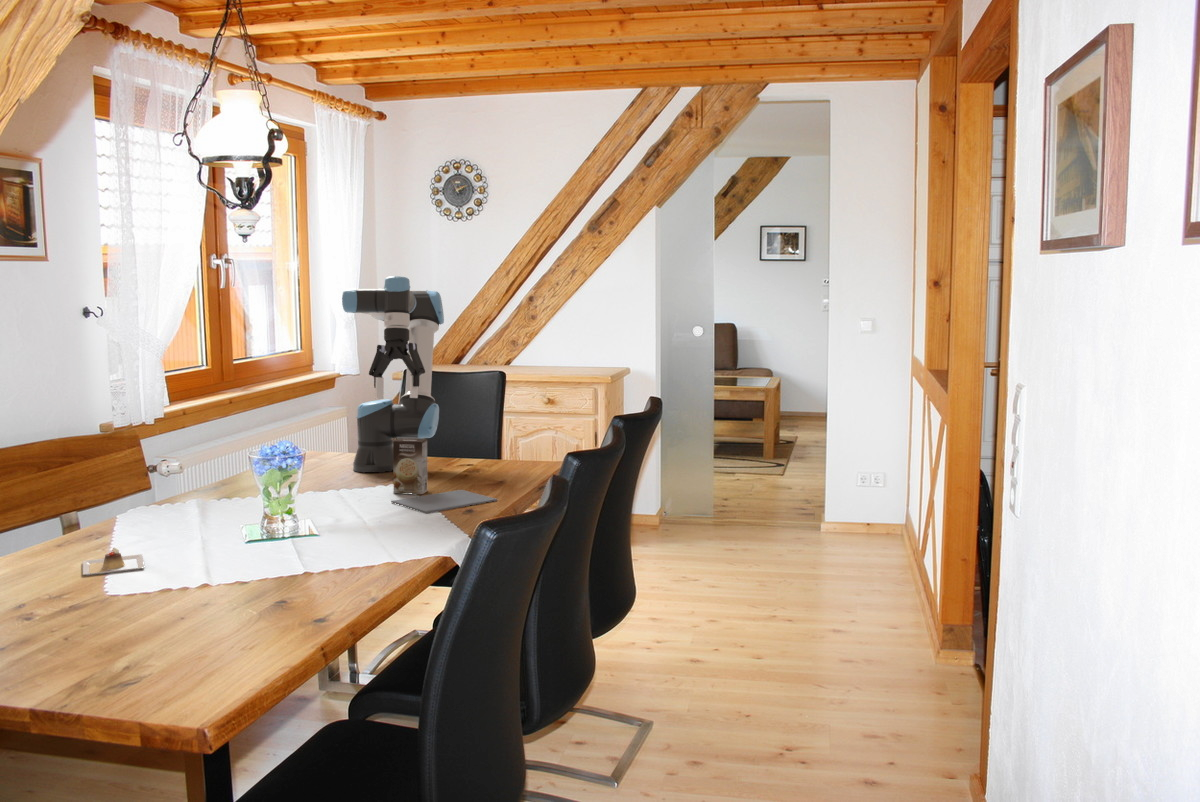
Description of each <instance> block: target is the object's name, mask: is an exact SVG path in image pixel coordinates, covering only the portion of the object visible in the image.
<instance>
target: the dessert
mask: <svg viewBox="0 0 1200 802" xmlns="http://www.w3.org/2000/svg"><path fill="white" fill-rule="evenodd" d="M127 560H136V563H137V567H134V568H125V569H121V568H124V567H126V564H125V562H124V561H127ZM101 563H103V564H102V566H101V568H102V569H103V570H106V571H100V572H91V573H90V564H91V565H92V564H101ZM144 568H145V569H146V566H145V561H144V556H143V554H142V553H141V554H140V553H139V554H133V555H123V556H122V554H121V552H120V550H119V548H116V547H113V548H112V550H111V551H110V552H109V553H106V554H105V555H104V558H96V559H87V560H82V575H83V576H87V577H88V576H96V575H97V576H98V575H106V574H113V573H114V574H115V573H122V572H123V573H124V572H129V571H130V572H132V571H138V570H139V571H140V570H143V569H144Z"/></svg>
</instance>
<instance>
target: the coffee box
mask: <svg viewBox="0 0 1200 802" xmlns="http://www.w3.org/2000/svg"><path fill="white" fill-rule="evenodd" d="M392 472H393V473H392V474H393V493H412V494H422V495H425V493H426V492H428V438H422V439H419V438H395V439H393V471H392ZM412 494H411V495H412Z"/></svg>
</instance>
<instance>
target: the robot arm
mask: <svg viewBox="0 0 1200 802" xmlns="http://www.w3.org/2000/svg"><path fill="white" fill-rule="evenodd" d="M410 283H411V282H410V279H409V278H408V277H406V276H399V275H398V276H397V275H395V276H388V277H386V278H385V279H384V286H383V288H345V289H344V290H343V292H342V297H341V302H342V303H341V305H342V309H343V311H344V312H345V313H347V314H348V313H350V314H365V315H370V316H371V317H372V318H374V319H376V320H379V321H382V322H384V323H383V325H384V327H385V328H384V329H383V340H384V341H385V344H384V345H383V344H377V346H376V352H375V355H374V358H373V360H372V363H371V366H370V369H369V371H368V376H372V378H373V386H374V388H375V390H374V391H375V396H374V397H375V399H376V400H371V401H366V402H363V403H360V404H359V405H358V406H357V411H356V412H357V417H356V419H357V421H356V423H357V448H356V449H357V450H356V453H355V456H354V459H353V464H352V470H353V471H354V472H356V473H357V472H358V473H365V472H379V473H386V472H385V471H389V472H393V471H392V470H393V441H394V439H398V438H416V439H430V438H433V437H434V435H436V432H437V429H438V426H439V419H440V407H439V404H438V403H436V400H435V398H434V397H433V396H432V381H433V379H432V378H433V377H432V376H433V375H432V374H433V360H434V344H435V343H434V341H435V340H434V339H435V333H437V332H438V331H439V327H440V325H444V322H445V316H444V308H443V302H442V301H443V300H442V297H441V293H440V292H438V291H436V290H428V289H426V290H411V285H410ZM393 360H402V361H403V363H404V364H405V366H406V377H405V389H404V390H405V392H404V394H403V395H401V397H400V399H399V403H394V401H393V400H392V399H389V398H387V399H384V396H385V395H384V393H385V392H384V387H385V386H384V381H385V380H384V377H383V375H384V373H385V372H386V370H387V368H388V367H389V365H390V363H391V362H392V361H393Z"/></svg>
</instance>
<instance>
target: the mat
mask: <svg viewBox="0 0 1200 802" xmlns="http://www.w3.org/2000/svg"><path fill="white" fill-rule="evenodd" d="M492 501H494V502H498V498H495V497H491V496H487V495H483V494H480V493H475V492H472V491H468V490H464V489H458V490H457V489H455V490H452V491H444V492H439V493H431V494H426V495H425V494H424V495H420V496H419V495H418V496H411V497H408V498H407V497H406V498H400V499H396V500H395V499H394V500H391V501H390V502H393V503H396V504H399V505H398V506H400V505H403V506H406V507H409V508H408V509H410V508H412V509H411V510H413V509H415V510H414V511H416V510H418V511H417V512H419V511H420V512H419V513H423V514H430V513H431V512H432V513H437V512H442V511H447V510H449V511H450V510H453V509H454V508H455V509H459V507H460V508H464V507H465V506H466V507H471V506H470V505H472V506H475V505H476V504H477V505H482V504H481V503H483V504H487V503H486V502H489V503H493V502H492ZM393 503H392V504H393ZM396 504H395V505H396ZM477 505H476V506H477ZM403 506H402V507H403ZM406 507H405V508H406ZM466 507H465V508H466ZM432 513H431V514H432Z"/></svg>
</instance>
